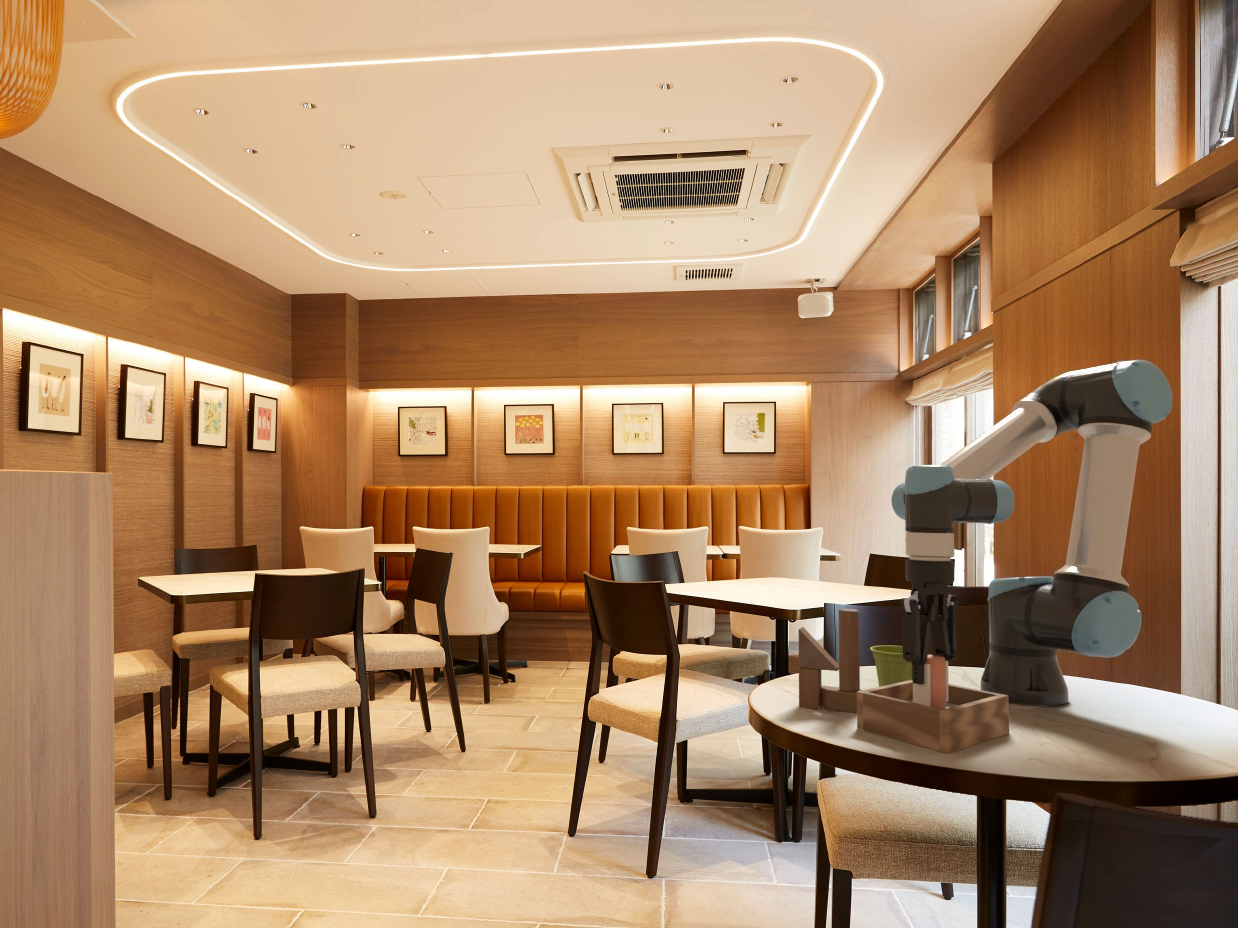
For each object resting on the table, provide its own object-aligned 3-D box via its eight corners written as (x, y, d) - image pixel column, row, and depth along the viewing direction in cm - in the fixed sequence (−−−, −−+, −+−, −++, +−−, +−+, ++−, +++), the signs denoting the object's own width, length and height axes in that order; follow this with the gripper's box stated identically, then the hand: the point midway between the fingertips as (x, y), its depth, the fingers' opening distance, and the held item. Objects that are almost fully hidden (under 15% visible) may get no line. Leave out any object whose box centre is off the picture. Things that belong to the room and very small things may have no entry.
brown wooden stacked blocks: (802, 703, 146) (801, 605, 147) (862, 709, 142) (861, 609, 143) (798, 707, 143) (797, 607, 144) (859, 714, 138) (858, 611, 139)
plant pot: (860, 691, 156) (860, 646, 156) (894, 686, 160) (894, 643, 161) (896, 701, 148) (896, 654, 148) (932, 696, 152) (931, 650, 152)
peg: (926, 726, 131) (925, 653, 132) (951, 732, 127) (950, 657, 128) (911, 730, 128) (910, 656, 129) (936, 736, 125) (935, 660, 126)
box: (920, 712, 140) (919, 677, 140) (1009, 733, 127) (1008, 695, 127) (857, 728, 129) (856, 691, 129) (947, 753, 116) (946, 712, 117)
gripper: (938, 556, 138) (939, 690, 136) (877, 558, 127) (878, 704, 126) (979, 558, 132) (981, 699, 130) (919, 561, 121) (920, 714, 120)
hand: (930, 701), depth 128 cm, fingers closed on peg, 4 cm apart
